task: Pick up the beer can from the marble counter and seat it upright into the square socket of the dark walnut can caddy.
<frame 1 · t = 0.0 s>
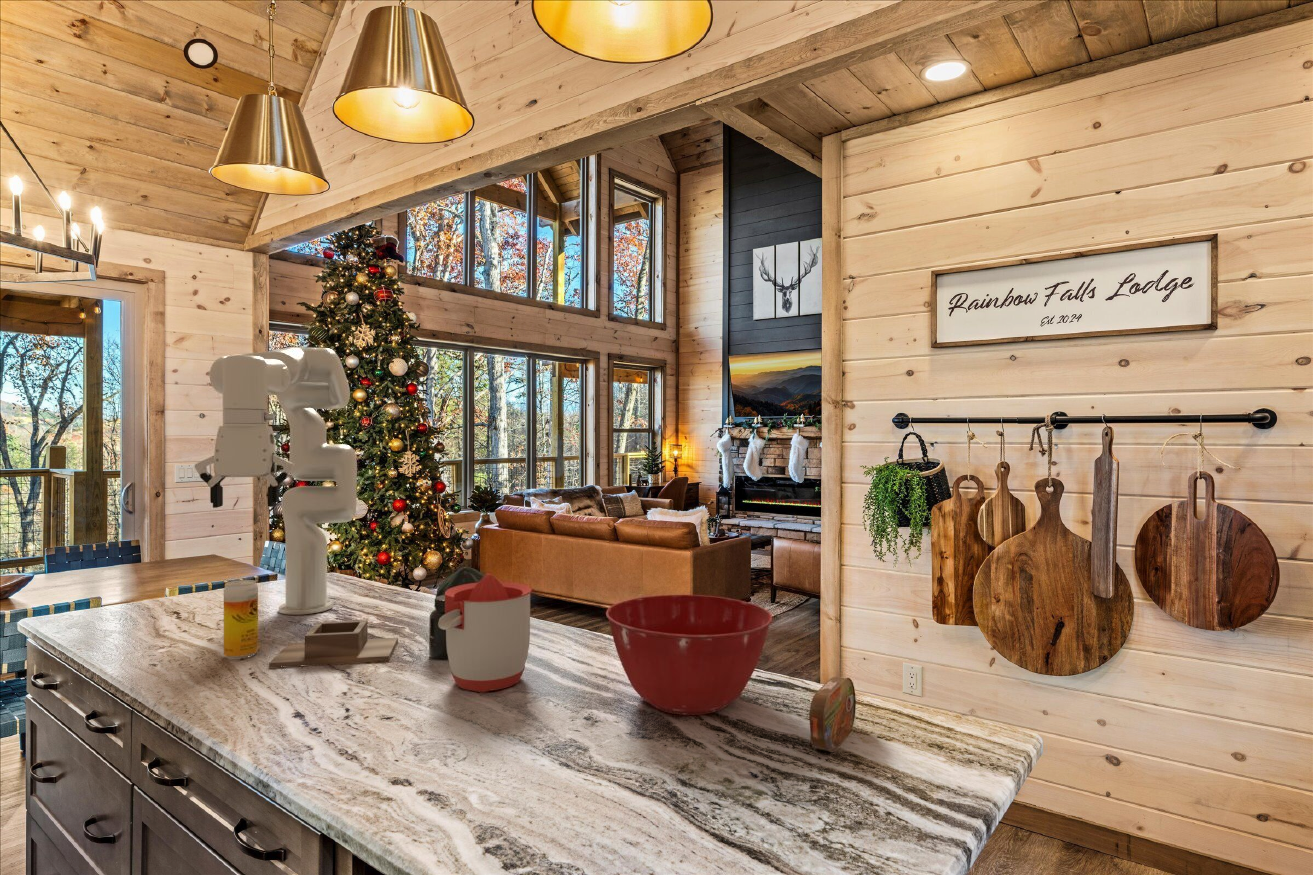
hand: (245, 506, 140), 31 cm above the kitchen island, tool pointing down, fingers open, 9 cm apart
mixing bowl: (688, 701, 123), on the kitchen island
beer can: (241, 656, 146), on the kitchen island
citrus juicer: (484, 684, 131), on the kitchen island
tin: (832, 740, 108), on the kitchen island
can caddy: (337, 654, 147), on the kitchen island
squash: (467, 625, 170), on the kitchen island
supplement bottle: (446, 656, 147), on the kitchen island
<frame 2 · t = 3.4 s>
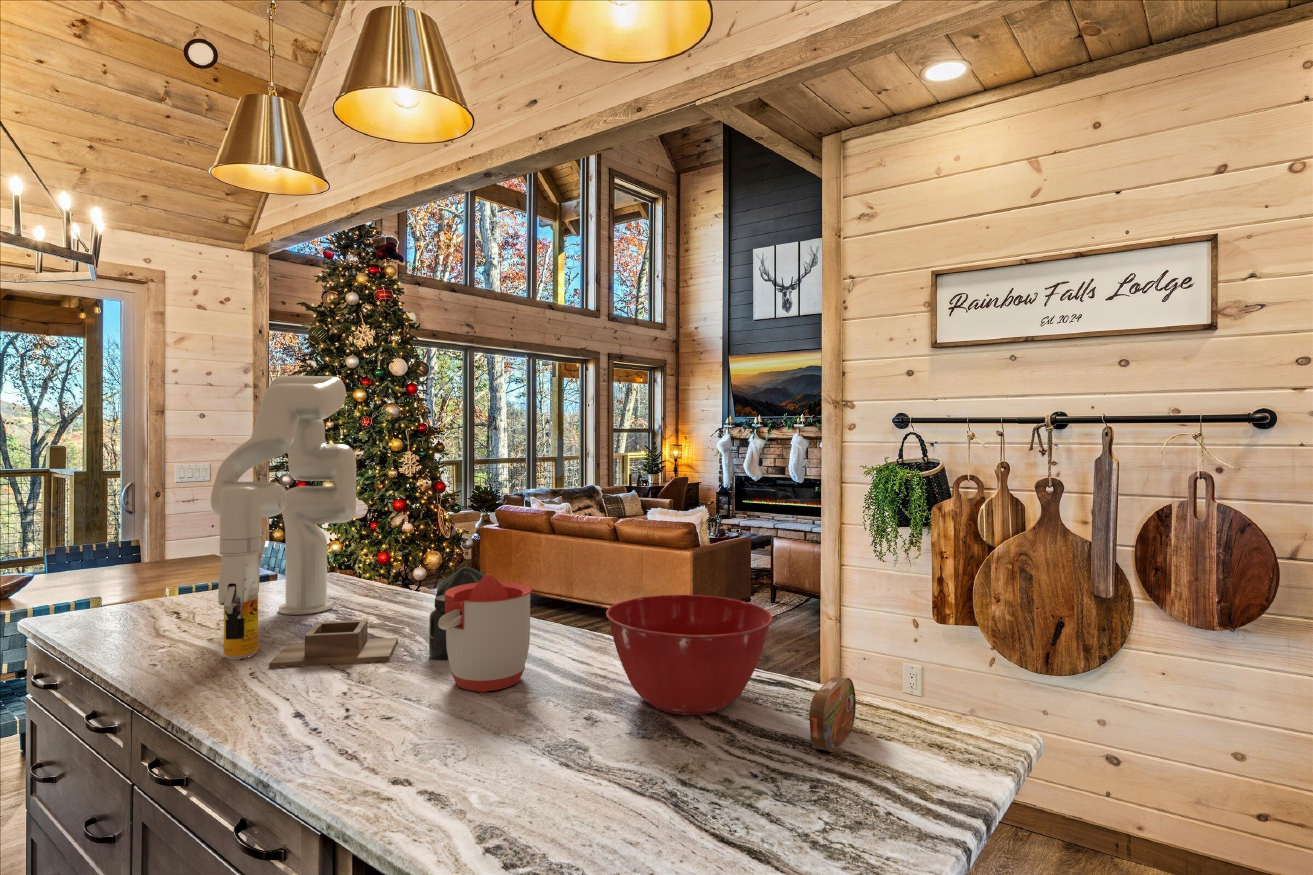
hand: (241, 632, 146), 5 cm above the kitchen island, tool pointing down, fingers closed on beer can, 6 cm apart
beer can: (241, 656, 146), on the kitchen island, touching gripper
everything else where it was.
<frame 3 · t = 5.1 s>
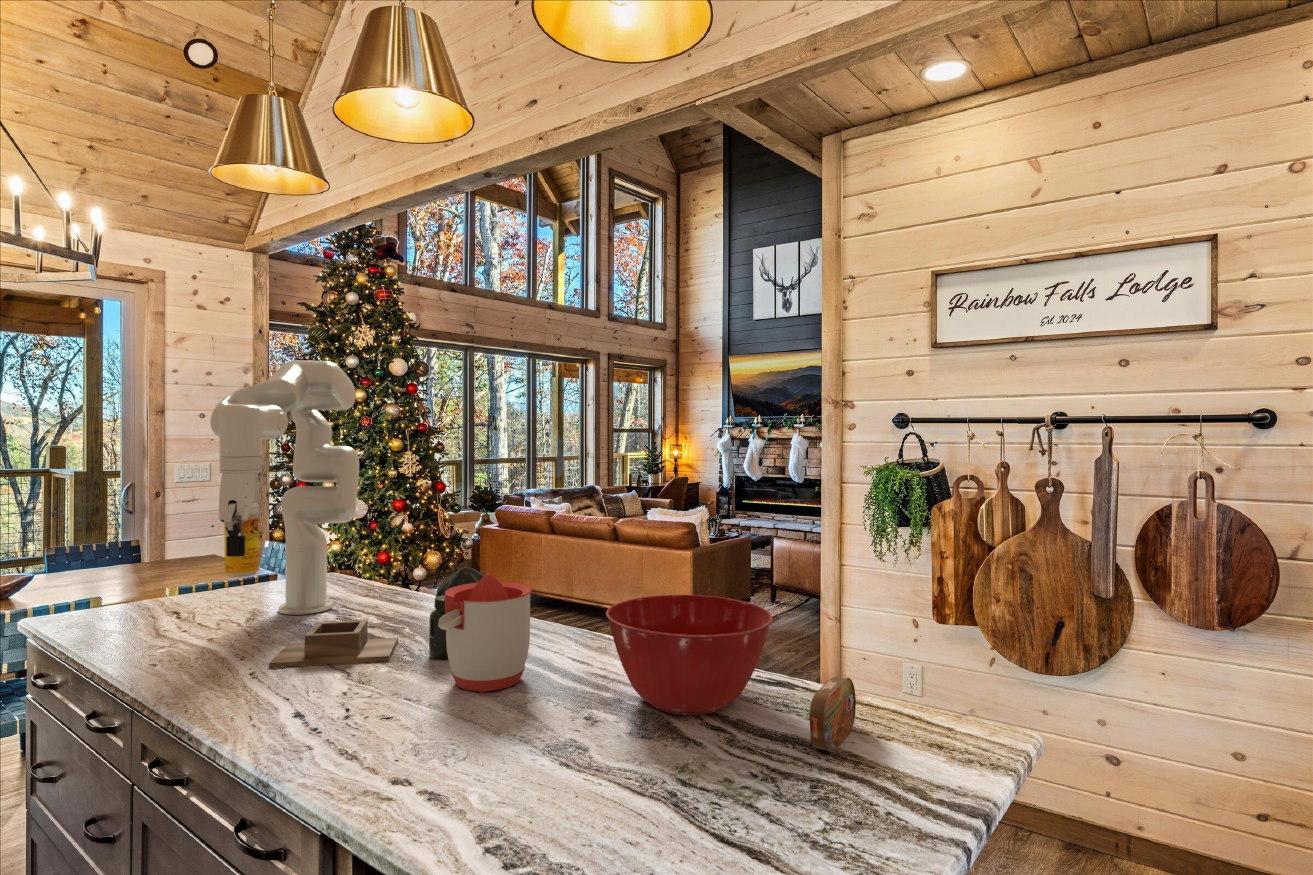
hand: (241, 551, 146), 21 cm above the kitchen island, tool pointing down, fingers closed on beer can, 6 cm apart
beer can: (242, 575, 146), point 16 cm above the kitchen island, touching gripper
everything else where it was.
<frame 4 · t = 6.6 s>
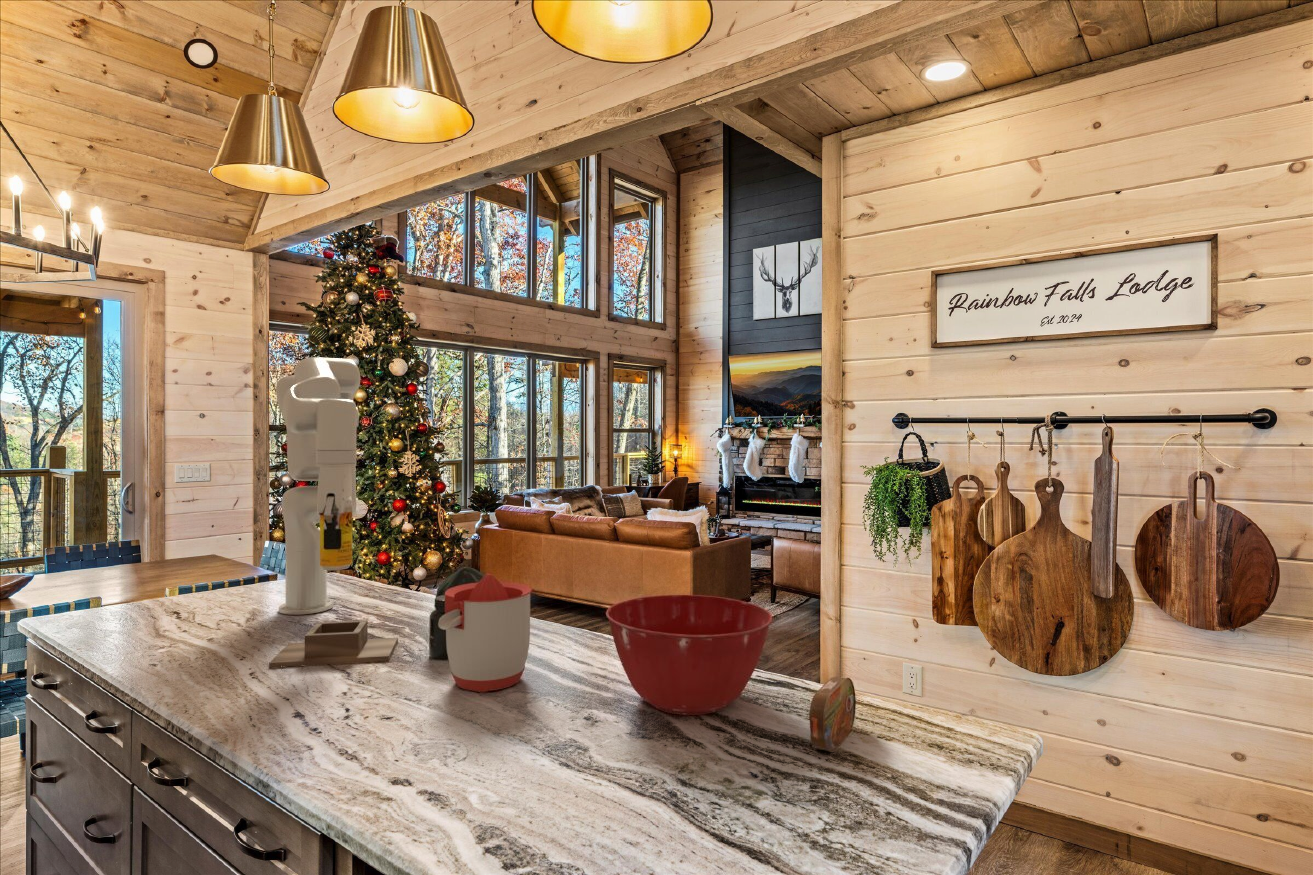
hand: (336, 545, 147), 22 cm above the kitchen island, tool pointing down, fingers closed on beer can, 6 cm apart
beer can: (336, 568, 147), point 18 cm above the kitchen island, touching gripper
everything else where it was.
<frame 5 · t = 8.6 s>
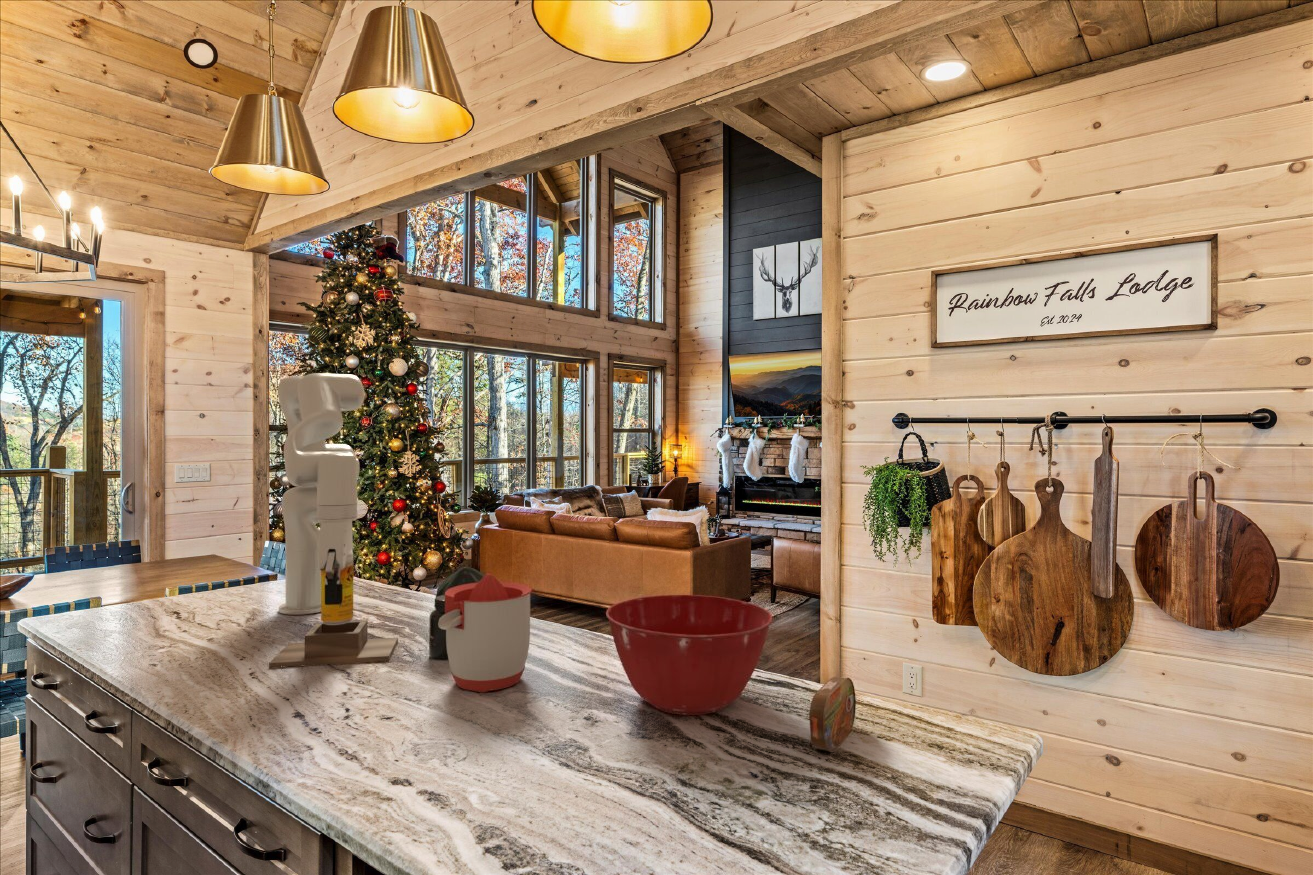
hand: (337, 599, 147), 11 cm above the kitchen island, tool pointing down, fingers closed on beer can, 6 cm apart
beer can: (337, 622, 147), point 7 cm above the kitchen island, touching gripper
everything else where it was.
when the fingers open (8 cm above the kitchen island, at t = 10.2 s): beer can drops 2 cm, resting on can caddy.
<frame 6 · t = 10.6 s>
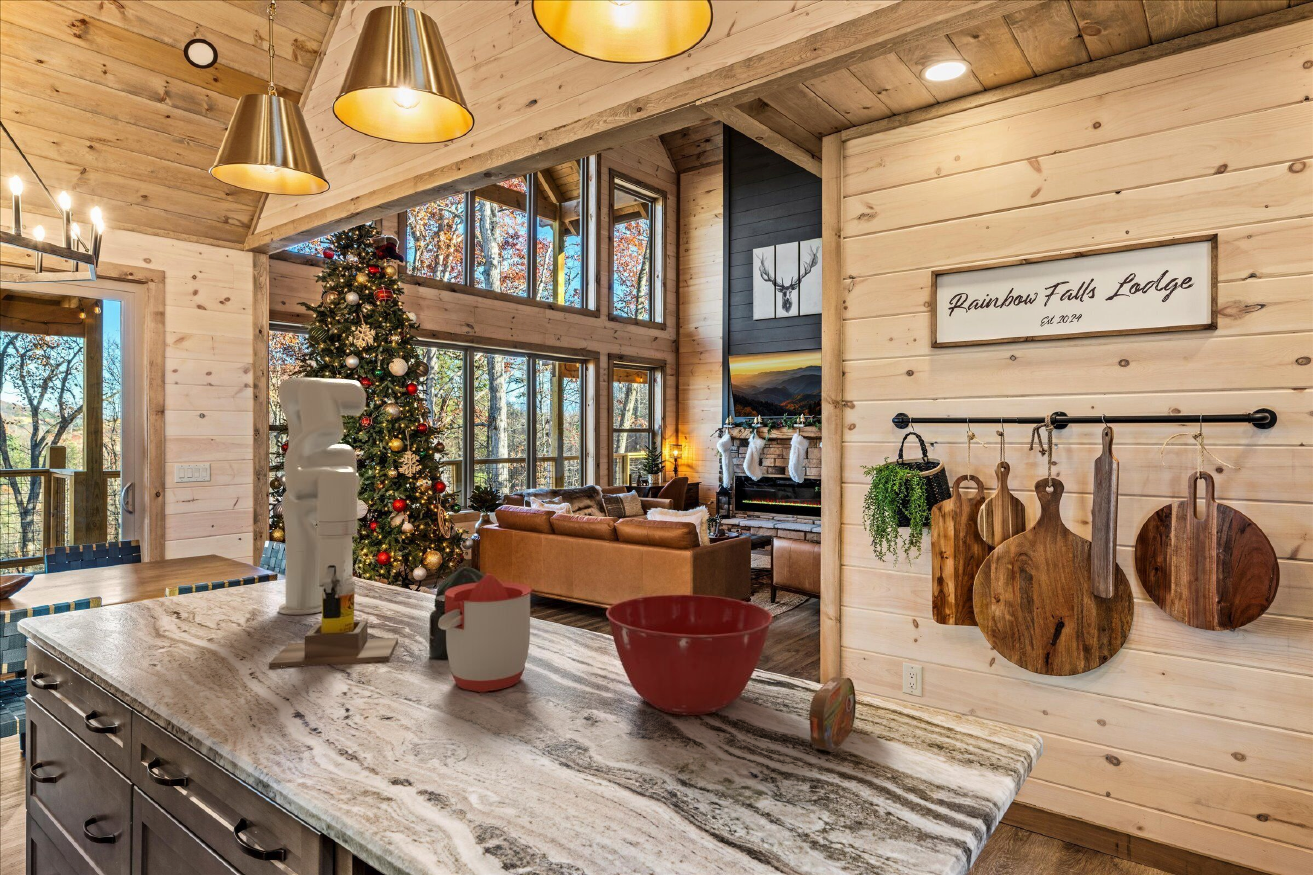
hand: (337, 611, 147), 9 cm above the kitchen island, tool pointing down, fingers open, 9 cm apart
beer can: (337, 649, 147), point 1 cm above the kitchen island, touching can caddy
everything else where it was.
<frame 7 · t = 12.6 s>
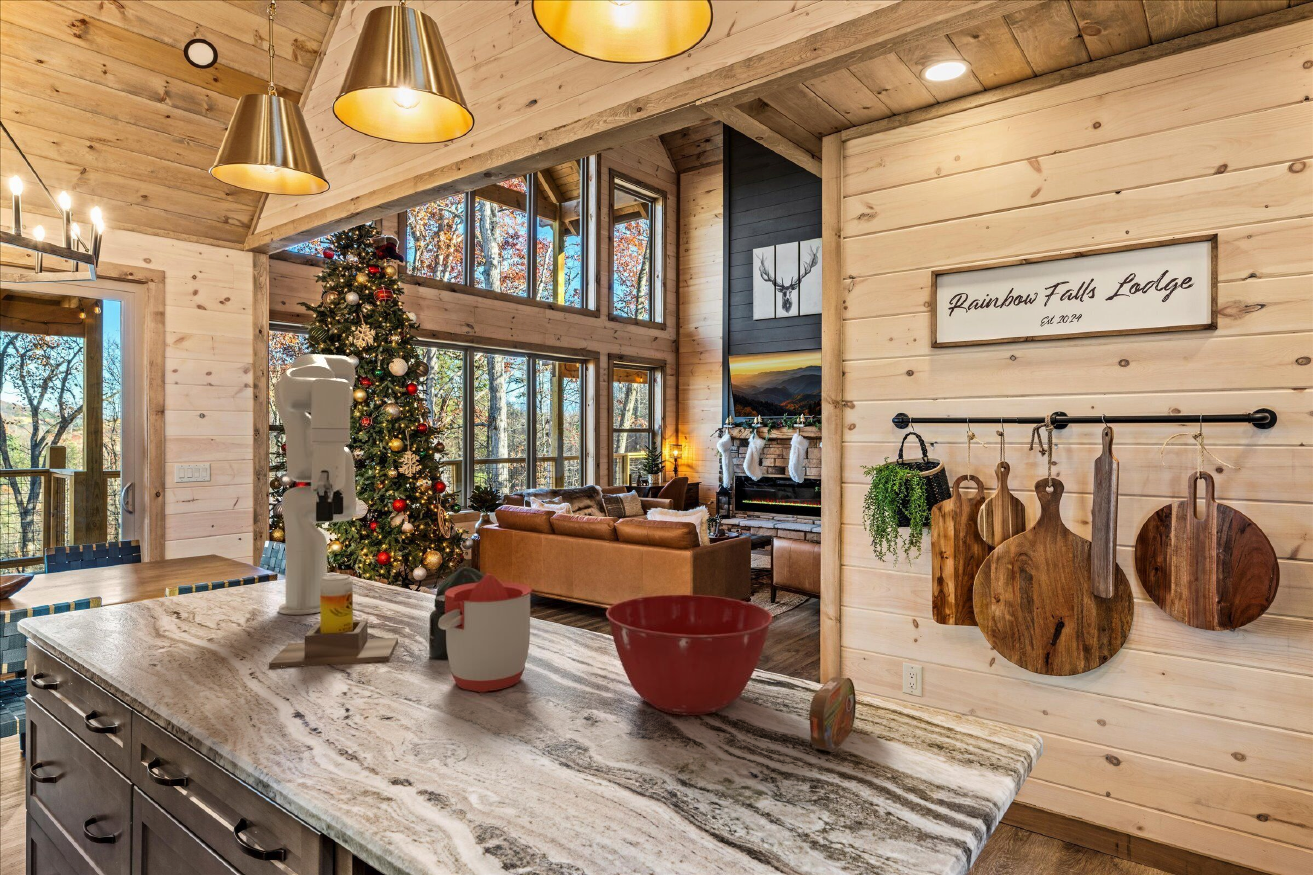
hand: (330, 517, 152), 28 cm above the kitchen island, tool pointing down, fingers open, 9 cm apart
nothing on the kitchen island moved.
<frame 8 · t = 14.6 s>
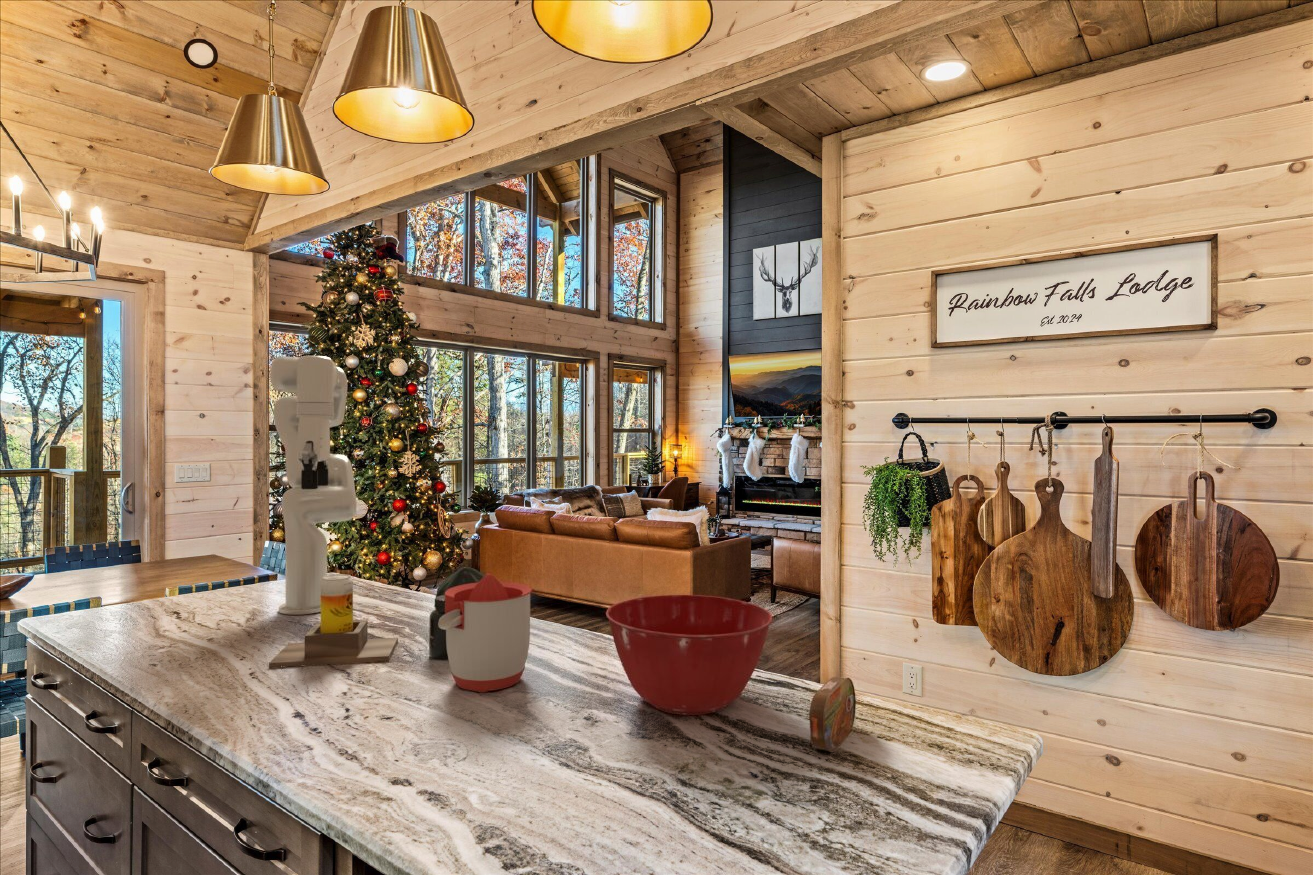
hand: (315, 487, 161), 33 cm above the kitchen island, tool pointing down, fingers open, 9 cm apart
nothing on the kitchen island moved.
at the end: beer can 0.1 cm off-centre on the can caddy, point 0.8 cm above the can caddy's base; beer can tilted 0°; the gripper is holding nothing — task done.
